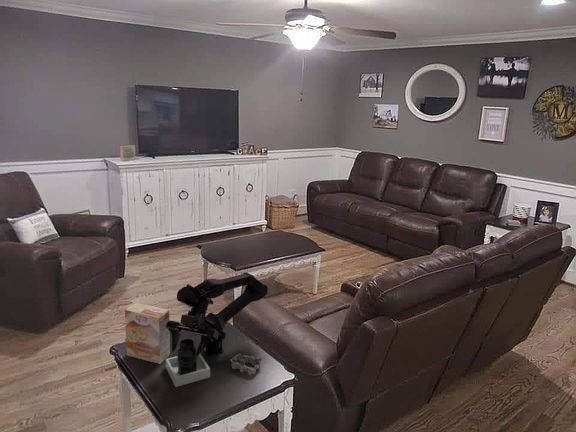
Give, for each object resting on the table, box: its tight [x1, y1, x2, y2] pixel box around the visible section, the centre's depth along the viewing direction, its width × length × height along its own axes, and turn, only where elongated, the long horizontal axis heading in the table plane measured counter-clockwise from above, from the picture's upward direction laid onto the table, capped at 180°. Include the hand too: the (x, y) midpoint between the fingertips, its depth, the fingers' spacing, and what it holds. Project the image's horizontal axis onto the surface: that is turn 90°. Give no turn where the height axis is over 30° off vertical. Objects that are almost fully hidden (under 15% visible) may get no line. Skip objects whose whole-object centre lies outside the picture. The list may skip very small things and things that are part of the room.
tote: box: [165, 353, 211, 388], centre depth 158 cm, size 13×13×4 cm
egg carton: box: [229, 353, 263, 376], centre depth 163 cm, size 11×8×4 cm
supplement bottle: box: [176, 338, 198, 375], centre depth 156 cm, size 7×7×12 cm
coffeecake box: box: [124, 302, 171, 365], centre depth 165 cm, size 15×7×20 cm, turn 72°
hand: (184, 353), depth 154 cm, fingers open, 9 cm apart
